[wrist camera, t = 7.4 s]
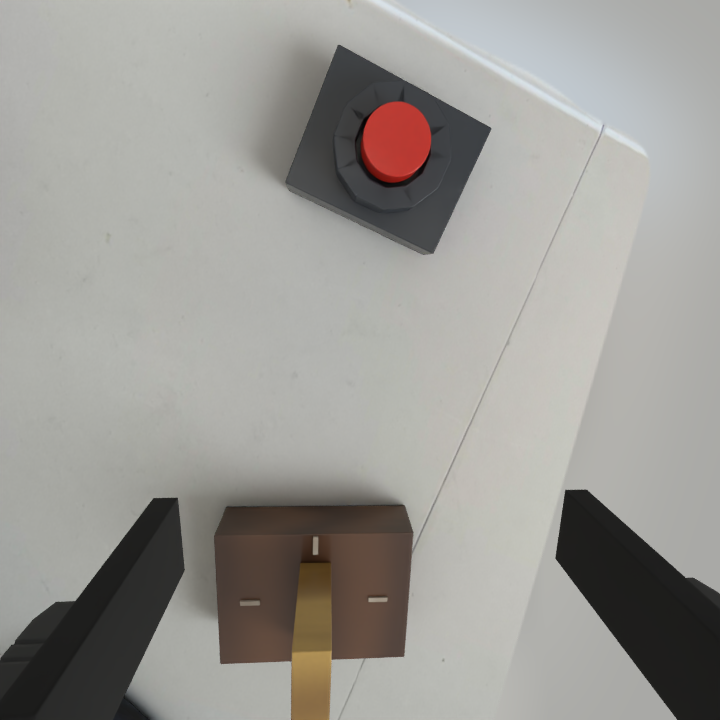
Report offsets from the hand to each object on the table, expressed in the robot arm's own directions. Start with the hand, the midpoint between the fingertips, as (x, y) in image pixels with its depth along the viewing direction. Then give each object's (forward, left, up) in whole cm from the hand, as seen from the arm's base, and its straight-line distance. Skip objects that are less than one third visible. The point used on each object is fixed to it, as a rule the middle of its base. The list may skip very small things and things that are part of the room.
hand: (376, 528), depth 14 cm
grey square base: (-2, -15, -17) cm, 23 cm away
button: (-2, -15, -13) cm, 20 cm away
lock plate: (+2, +15, -17) cm, 23 cm away
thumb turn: (+2, +15, -13) cm, 20 cm away
